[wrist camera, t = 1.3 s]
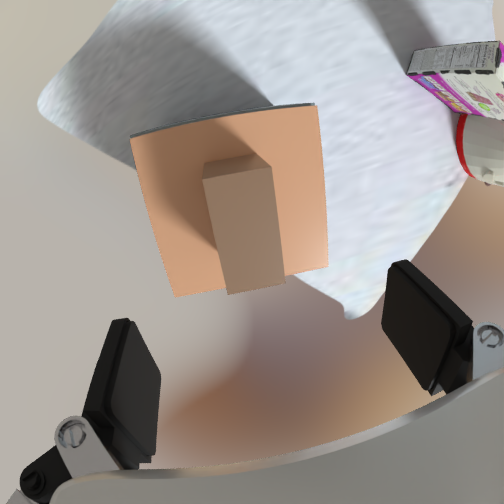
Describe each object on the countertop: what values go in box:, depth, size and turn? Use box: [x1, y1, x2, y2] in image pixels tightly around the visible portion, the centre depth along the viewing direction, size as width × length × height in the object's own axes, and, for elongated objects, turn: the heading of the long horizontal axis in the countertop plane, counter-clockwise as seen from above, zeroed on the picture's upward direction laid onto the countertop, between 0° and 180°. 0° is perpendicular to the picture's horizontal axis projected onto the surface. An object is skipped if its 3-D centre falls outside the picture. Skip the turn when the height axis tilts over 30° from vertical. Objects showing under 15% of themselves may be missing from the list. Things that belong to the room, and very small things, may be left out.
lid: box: [130, 106, 328, 297], centre depth 19 cm, size 13×13×8 cm
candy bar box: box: [407, 41, 504, 121], centre depth 23 cm, size 11×5×16 cm, turn 71°
